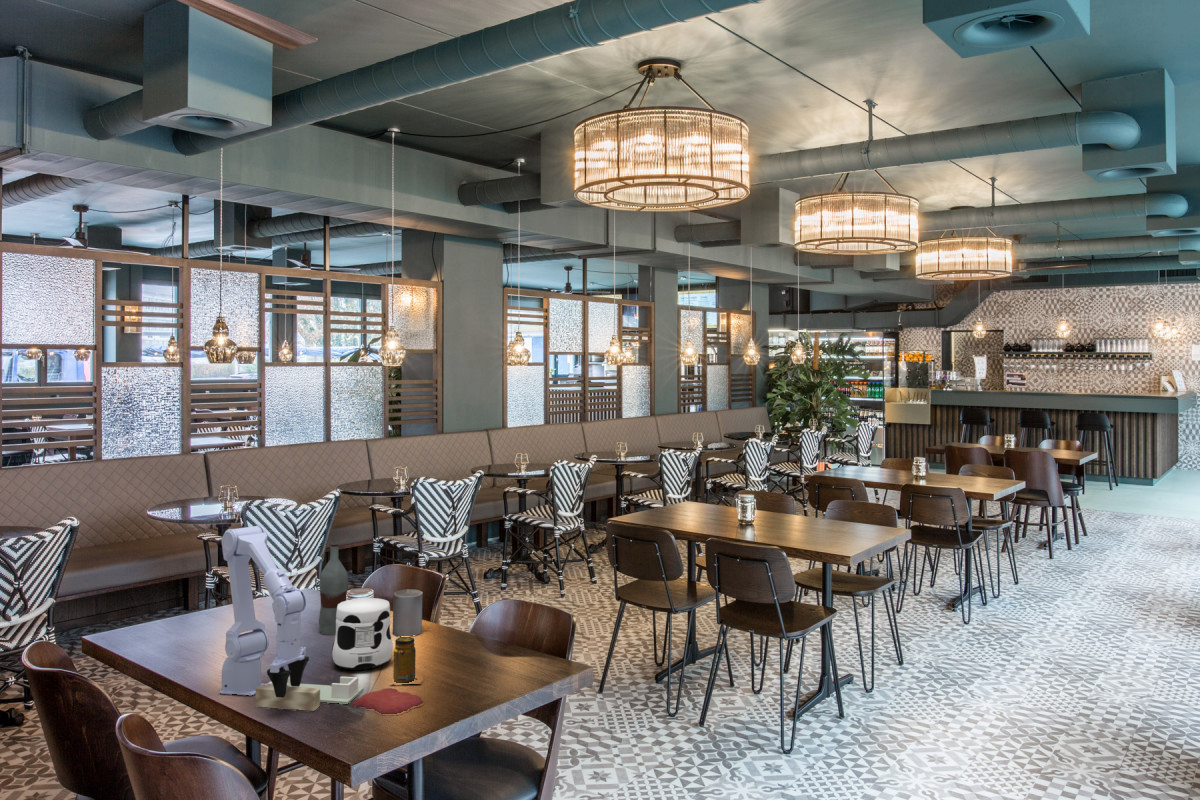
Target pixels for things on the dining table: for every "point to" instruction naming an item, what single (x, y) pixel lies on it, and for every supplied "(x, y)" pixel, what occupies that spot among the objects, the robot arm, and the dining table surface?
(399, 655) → the condiment
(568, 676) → the dining table surface
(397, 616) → the pillar candle
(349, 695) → the end caps
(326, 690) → the cap board
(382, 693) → the patty
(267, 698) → the slat
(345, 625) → the milk container
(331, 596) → the bottle
